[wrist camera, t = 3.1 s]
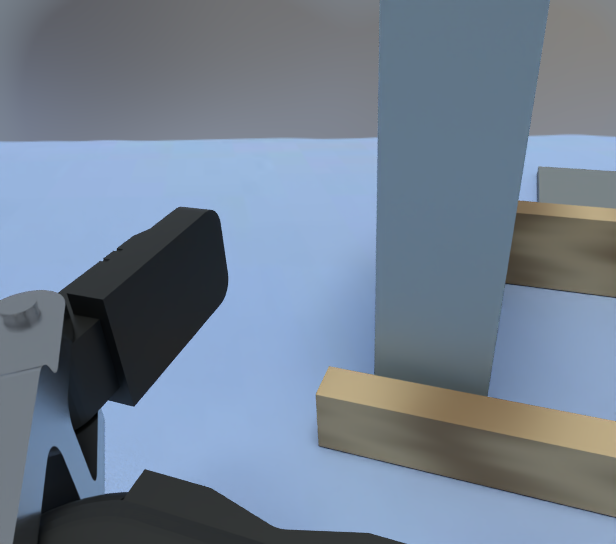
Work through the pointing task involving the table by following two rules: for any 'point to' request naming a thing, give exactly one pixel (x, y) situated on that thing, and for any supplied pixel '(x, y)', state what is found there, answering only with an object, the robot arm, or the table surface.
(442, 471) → the frame
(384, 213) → the upright blue-grey block
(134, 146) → the table surface
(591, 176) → the mat
